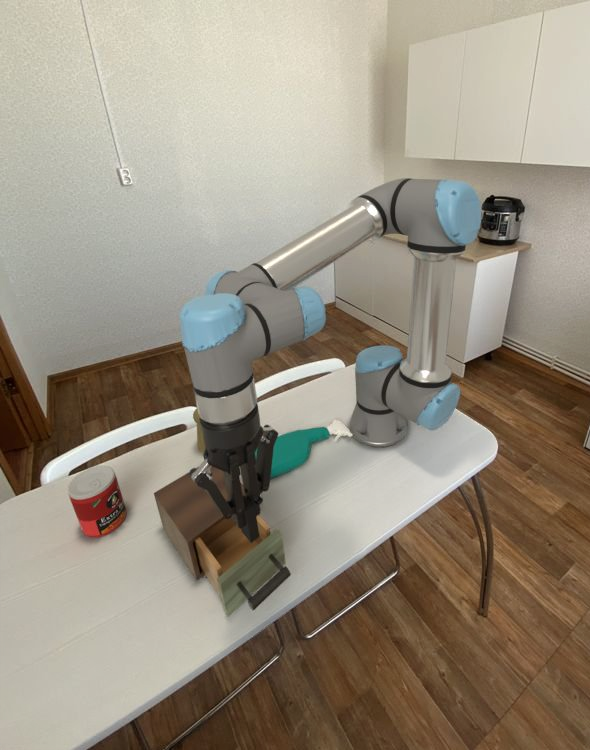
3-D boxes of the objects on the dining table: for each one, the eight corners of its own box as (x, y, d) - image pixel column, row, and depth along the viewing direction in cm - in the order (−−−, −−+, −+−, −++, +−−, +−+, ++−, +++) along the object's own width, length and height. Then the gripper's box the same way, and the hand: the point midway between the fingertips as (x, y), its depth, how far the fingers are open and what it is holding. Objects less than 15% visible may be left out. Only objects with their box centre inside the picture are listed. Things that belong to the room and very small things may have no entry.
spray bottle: (248, 456, 94) (334, 419, 107) (264, 485, 86) (356, 442, 99) (247, 446, 93) (334, 410, 106) (263, 475, 85) (355, 432, 98)
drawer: (303, 583, 65) (300, 551, 63) (244, 642, 57) (237, 609, 55) (245, 518, 77) (240, 489, 74) (189, 560, 69) (181, 529, 67)
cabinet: (258, 531, 75) (253, 494, 72) (196, 581, 67) (187, 542, 63) (221, 490, 85) (215, 456, 81) (163, 529, 76) (153, 493, 73)
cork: (227, 439, 100) (221, 404, 96) (210, 455, 95) (202, 419, 91) (210, 433, 102) (203, 398, 98) (192, 448, 97) (184, 412, 93)
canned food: (106, 542, 74) (92, 500, 70) (72, 535, 75) (55, 493, 71) (136, 508, 81) (124, 468, 77) (104, 502, 82) (90, 462, 78)
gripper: (255, 377, 58) (271, 494, 66) (167, 420, 49) (199, 548, 57) (285, 397, 53) (298, 520, 61) (193, 448, 44) (224, 584, 53)
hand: (250, 534), depth 59 cm, fingers closed
